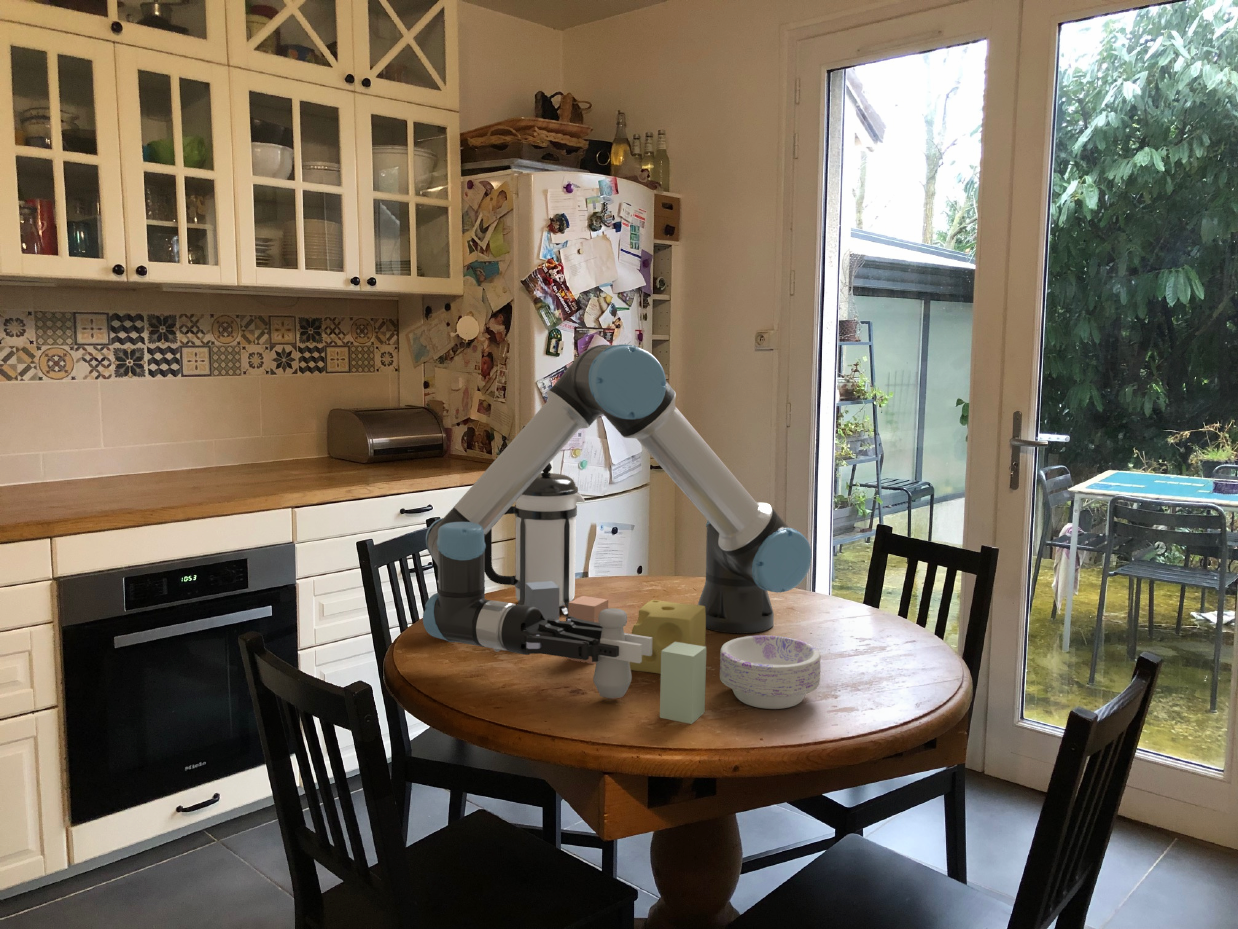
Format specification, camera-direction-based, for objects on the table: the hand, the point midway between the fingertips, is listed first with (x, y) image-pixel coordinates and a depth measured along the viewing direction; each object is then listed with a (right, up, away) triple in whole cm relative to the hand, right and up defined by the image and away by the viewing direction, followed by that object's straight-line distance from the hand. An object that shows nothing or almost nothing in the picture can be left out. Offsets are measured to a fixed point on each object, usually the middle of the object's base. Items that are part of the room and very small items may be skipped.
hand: (645, 650), depth 144 cm
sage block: (+5, -9, -2) cm, 11 cm away
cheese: (+4, -7, +20) cm, 22 cm away
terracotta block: (-9, -6, +23) cm, 26 cm away
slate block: (-18, -4, +34) cm, 38 cm away
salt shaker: (-5, -7, +3) cm, 10 cm away
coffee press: (-20, -2, +53) cm, 57 cm away
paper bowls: (+19, -9, +6) cm, 22 cm away
